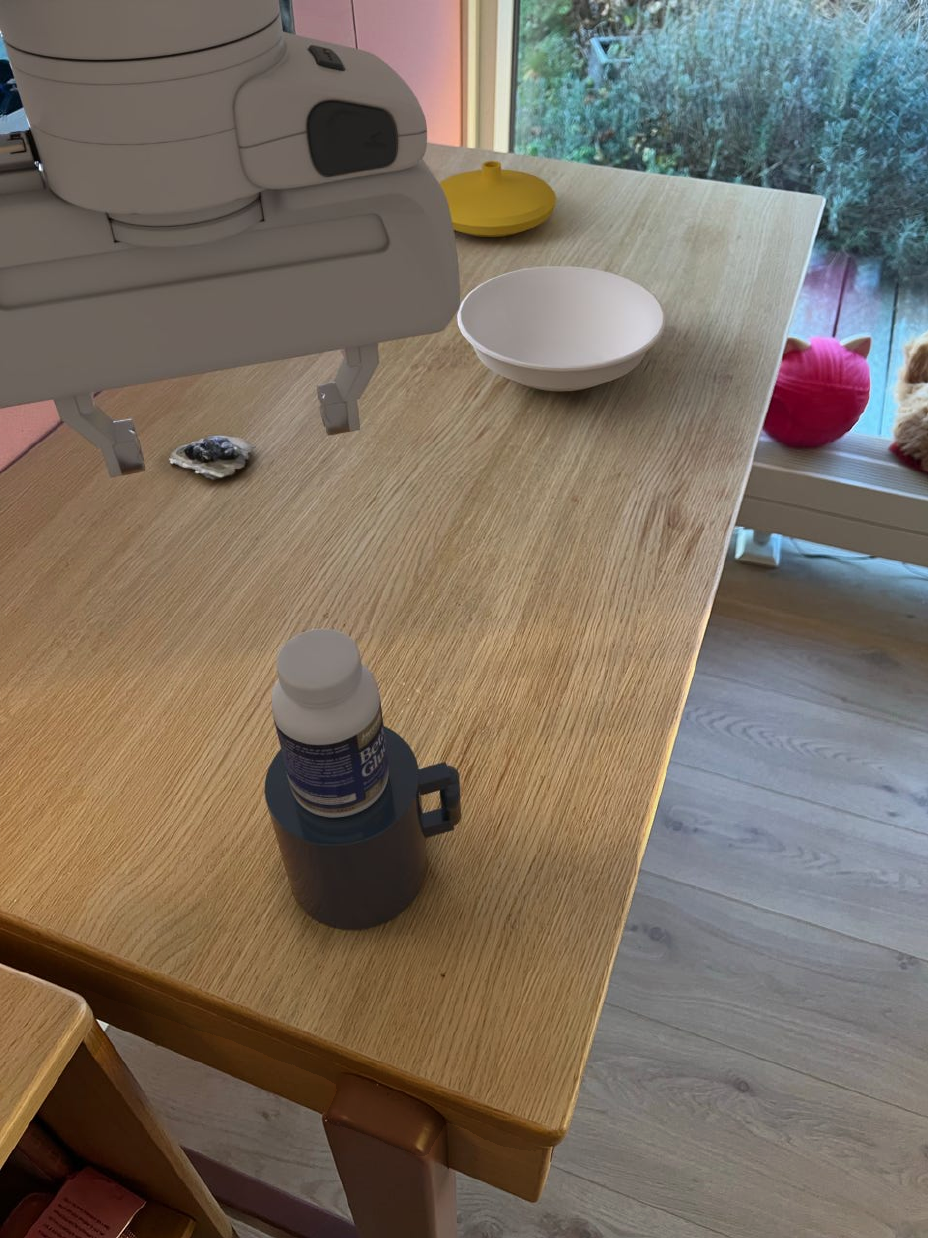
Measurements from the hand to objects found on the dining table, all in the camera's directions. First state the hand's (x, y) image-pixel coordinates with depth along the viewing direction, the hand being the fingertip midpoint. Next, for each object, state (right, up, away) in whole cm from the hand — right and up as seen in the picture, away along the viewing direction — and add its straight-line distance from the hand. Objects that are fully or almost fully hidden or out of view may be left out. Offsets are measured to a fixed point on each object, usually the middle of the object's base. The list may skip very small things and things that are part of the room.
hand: (236, 446), depth 44 cm
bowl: (+19, +17, +55) cm, 61 cm away
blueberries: (-13, +7, +47) cm, 49 cm away
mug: (+5, -22, +17) cm, 28 cm away
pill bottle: (+3, -16, +10) cm, 20 cm away
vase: (+14, +41, +80) cm, 91 cm away
